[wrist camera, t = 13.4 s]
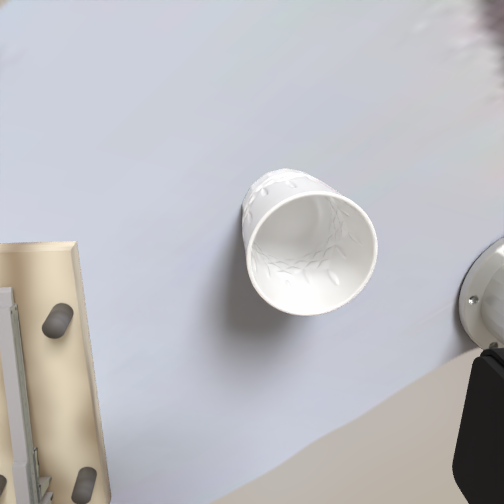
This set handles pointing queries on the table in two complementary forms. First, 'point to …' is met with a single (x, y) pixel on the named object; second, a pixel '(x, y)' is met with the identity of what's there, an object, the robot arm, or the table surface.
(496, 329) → the robot arm
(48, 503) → the caliper
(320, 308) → the white cup
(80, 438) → the tool rest
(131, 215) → the table surface
